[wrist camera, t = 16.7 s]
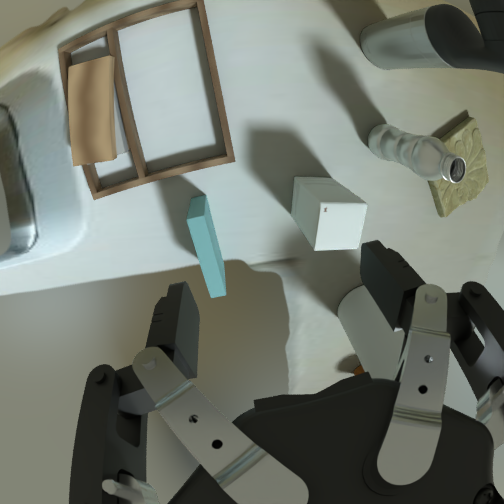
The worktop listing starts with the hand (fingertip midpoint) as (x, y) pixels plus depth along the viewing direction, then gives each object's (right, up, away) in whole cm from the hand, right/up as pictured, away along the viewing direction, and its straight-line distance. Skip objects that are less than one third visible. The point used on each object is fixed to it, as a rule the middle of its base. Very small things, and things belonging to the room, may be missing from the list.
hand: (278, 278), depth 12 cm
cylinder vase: (+25, -11, +50) cm, 57 cm away
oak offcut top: (-25, +22, +19) cm, 38 cm away
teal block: (-9, +4, +35) cm, 37 cm away
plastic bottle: (+21, +21, +30) cm, 43 cm away
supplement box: (+9, +11, +34) cm, 37 cm away
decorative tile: (+45, +20, +35) cm, 60 cm away
